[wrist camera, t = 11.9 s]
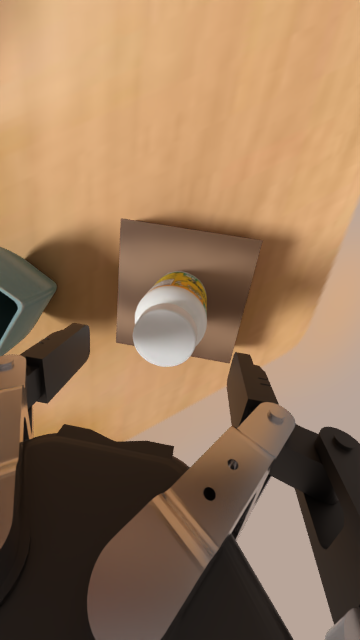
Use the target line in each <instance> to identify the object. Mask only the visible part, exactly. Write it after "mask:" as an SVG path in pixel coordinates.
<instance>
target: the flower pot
mask: <svg viewBox="0 0 360 640" xmlns="http://www.w3.org/2000/svg"><path fill="white" fill-rule="evenodd" d="M56 289H57V285H56V283H55V282H54V281H53V280H51V279H50V278H49V277H47V276H46V275H45V274H43V273H42V272H41V271H39V270H38V269H37V268H35V267H34V266H33V265H32V264H30V263H29V262H28V261H26V260H25V259H23V258H22V257H20V256H18V255H17V254H15V253H13V252H11V251H9V250H7V249H4V248H2V247H0V356H3V355H4V354H5V353H7V352H8V351H9V350H10V349H12V348H13V347H14V346H15V345H16V344H18V343H19V342H20V341H21V340H22V339H24V338H25V337H26V336H27V334H28V333H29V332H30V331H31V330H32V328H33V327H34V326H35V324H36V323H37V321H38V319H39V317H40V316H41V314H42V312H43V311H44V309H45V308H46V306H47V304H48V303H49V301H50V299H51V298H52V296H53V295H54V293H55V291H56Z"/></svg>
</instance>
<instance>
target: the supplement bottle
mask: <svg viewBox="0 0 360 640" xmlns="http://www.w3.org/2000/svg"><path fill="white" fill-rule="evenodd" d="M206 327H207V296H206V291H205V288H204V286H203V284H202V283H201V281H200V280H199V279H197V278H196V277H195V276H193V275H191V274H189V273H187V272H182V271H175V272H171V273H168V274H166V275H164V276H163V277H162V278H161V279H160V280H159V281H158V282H157V283H156V284H155V285H154V286H153V287H152V288H151V289H150V290H149V291H148V292H147V293H146V294H145V296H144V297H143V298H142V299H141V301H140V302H139V304H138V306H137V309H136V312H135V326H134V330H133V342H134V345H135V347H136V349H137V351H138V353H139V354H140V355H141V356H142V357H143V358H144V359H145V360H147V361H148V362H150V363H152V364H155V365H158V366H163V367H171V366H176V365H179V364H181V363H183V362H185V361H186V360H187V359H188V358H189V357H190V356H191V355H192V353H193V351H194V349H195V347H196V346H197V345H198V344H199V342H200V341H201V340H202V338H203V336H204V334H205V331H206Z"/></svg>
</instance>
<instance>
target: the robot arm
mask: <svg viewBox="0 0 360 640" xmlns="http://www.w3.org/2000/svg"><path fill="white" fill-rule="evenodd" d="M89 354H90V330H89V326H88V325H83V324H77V323H72V324H71V325H69V326H68V327H67V328H65V329H64V330H60V331H57V332H54V333H52V334H50V335H49V336H47V337H46V338H45V339H43V340H41V341H40V342H39V343H37V344H35V345H34V346H32V347H31V348H29V349H28V350H26V351H25V352H23V353H22V354H20V355H15V354H11V355H3V356H0V640H293V638H292V636H291V634H290V633H289V631H288V629H287V628H286V626H285V624H284V622H283V621H282V619H281V617H280V616H279V614H278V612H277V610H276V609H275V607H274V605H273V604H272V602H271V600H270V599H269V597H268V595H267V593H266V592H265V590H264V588H263V587H262V585H261V583H260V581H259V580H258V578H257V576H256V575H255V573H254V571H253V570H252V568H251V566H250V564H249V563H248V561H247V559H246V558H245V556H244V554H243V552H242V551H241V549H240V547H239V546H238V544H237V542H236V541H237V539H238V537H239V535H240V533H241V531H242V530H243V528H244V526H245V523H246V522H247V520H248V518H249V516H250V514H251V512H252V510H253V509H254V507H255V505H256V503H257V502H258V500H259V498H260V496H261V495H262V493H263V491H264V489H265V488H266V486H267V484H268V482H269V480H270V479H271V477H272V476H273V477H274V478H276V479H278V480H280V481H282V482H284V483H286V484H288V485H290V486H292V487H294V488H295V491H296V494H297V498H298V501H299V505H300V508H301V511H302V515H303V518H304V522H305V525H306V529H307V532H308V536H309V539H310V542H311V546H312V549H313V553H314V557H315V560H316V563H317V567H318V570H319V574H320V577H321V581H322V584H323V587H324V591H325V595H326V598H327V601H328V605H329V608H330V612H331V615H332V619H333V622H334V626H333V627H332V628H331V629H330V630H329V631H328V632H327V634H326V637H325V640H360V444H359V443H358V442H357V441H356V440H355V439H354V438H352V437H351V436H350V435H349V434H347V433H345V432H343V431H341V430H339V429H337V428H332V427H324V428H322V429H321V430H320V432H319V434H317V433H314V432H312V431H309V430H307V429H305V428H302V427H300V426H298V425H296V423H295V419H294V417H293V416H292V415H291V413H290V412H289V411H287V410H286V409H285V408H283V407H282V406H280V405H279V404H278V402H277V399H276V397H275V395H274V392H273V390H272V387H271V385H270V382H269V381H268V378H267V375H266V373H265V372H264V371H263V370H262V369H261V367H260V366H257V365H254V364H253V362H252V359H251V356H250V355H248V354H243V353H237V352H235V354H234V357H233V360H232V364H231V368H230V371H229V375H228V379H227V392H228V400H229V407H230V415H231V423H232V426H231V427H230V428H229V429H228V430H227V431H226V432H225V433H224V434H223V435H222V436H221V437H220V438H219V439H218V440H217V441H216V442H215V443H214V444H213V445H212V446H211V447H210V448H209V449H208V450H207V451H206V452H205V453H204V454H203V455H202V456H201V457H200V458H199V459H198V460H197V461H196V462H195V463H194V464H193V465H192V466H191V467H188V466H187V465H186V464H185V463H184V462H182V461H181V460H179V459H178V458H176V457H174V456H172V455H173V449H174V446H170V445H164V444H159V443H155V442H150V441H126V442H116V441H113V440H111V439H109V438H107V437H105V436H103V435H101V434H99V433H97V432H95V431H93V430H91V429H86V428H81V427H76V426H71V425H66V424H64V425H63V426H62V428H61V429H60V430H59V432H58V433H54V434H46V435H42V436H38V437H35V438H34V428H33V404H34V403H35V402H36V401H37V402H42V403H47V404H48V402H49V401H50V400H51V399H52V398H53V397H54V396H55V395H56V394H57V393H58V392H59V390H60V389H61V388H62V387H63V386H64V385H65V384H66V383H67V382H68V381H69V380H70V378H71V377H72V376H73V375H74V374H75V373H76V372H77V371H78V370H79V369H80V368H81V367H82V365H83V364H84V363H85V362H86V361H87V359H88V357H89Z"/></svg>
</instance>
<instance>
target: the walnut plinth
mask: <svg viewBox="0 0 360 640" xmlns="http://www.w3.org/2000/svg"><path fill="white" fill-rule="evenodd" d="M261 245H262V240H256V239H250V238H243V237H237V236H230V235H224V234H218V233H211V232H205V231H198V230H192V229H186V228H179V227H173V226H166V225H160V224H153V223H147V222H141V221H134V220H128V219H121V228H120V254H119V280H118V306H117V332H116V343H122V344H127V345H132V346H135V345H134V342H133V330H134V326H135V312H136V309H137V306H138V304H139V302H140V301H141V299H142V298H143V297H144V296H145V294H146V293H147V292H148V291H149V290H150V289H151V288H152V287H153V286H154V285H155V284H156V283H157V282H158V281H159V280H160V279H161V278H162V277H163V276H164V275H166V274H168V273H171V272H175V271H182V272H187V273H189V274H191V275H193V276H195V277H196V278H197V279H199V280H200V281H201V283H202V284H203V286H204V288H205V291H206V296H207V327H206V331H205V334H204V336H203V338H202V340H201V341H200V342H199V344H198V345H197V346H196V347H195V349H194V351H193V353H192V355H191V356H192V357H198V358H203V359H208V360H214V361H219V362H225V363H230V360H231V356H232V352H233V349H234V345H235V341H236V338H237V334H238V330H239V327H240V323H241V319H242V315H243V312H244V308H245V304H246V301H247V297H248V293H249V290H250V286H251V282H252V278H253V275H254V271H255V267H256V264H257V260H258V256H259V253H260V249H261Z"/></svg>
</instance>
